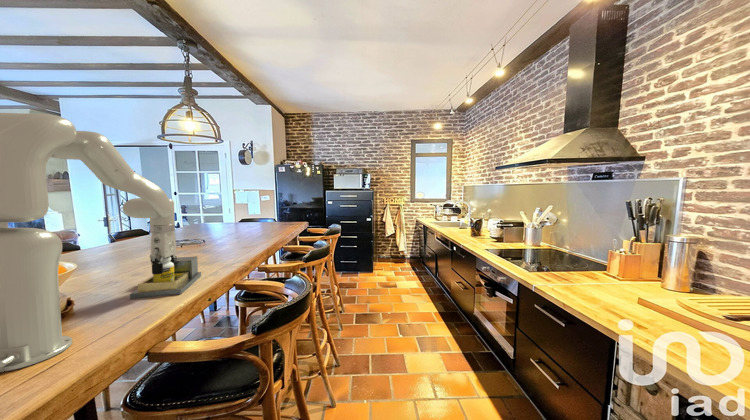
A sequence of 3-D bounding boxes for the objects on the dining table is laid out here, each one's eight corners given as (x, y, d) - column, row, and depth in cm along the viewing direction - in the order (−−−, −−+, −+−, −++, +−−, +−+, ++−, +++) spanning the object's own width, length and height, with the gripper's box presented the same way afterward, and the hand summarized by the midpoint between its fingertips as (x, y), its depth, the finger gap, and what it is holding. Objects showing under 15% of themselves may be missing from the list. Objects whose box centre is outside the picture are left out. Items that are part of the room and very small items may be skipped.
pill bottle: (156, 289, 95) (154, 260, 94) (152, 285, 99) (150, 257, 98) (176, 284, 100) (175, 257, 99) (172, 281, 104) (171, 254, 103)
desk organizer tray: (181, 294, 96) (180, 266, 95) (130, 299, 91) (128, 270, 90) (201, 276, 117) (200, 253, 116) (160, 279, 112) (159, 255, 111)
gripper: (163, 231, 91) (164, 276, 92) (183, 226, 108) (183, 263, 108) (138, 232, 89) (139, 277, 90) (162, 226, 105) (163, 265, 106)
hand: (163, 270), depth 99 cm, fingers open, 9 cm apart
